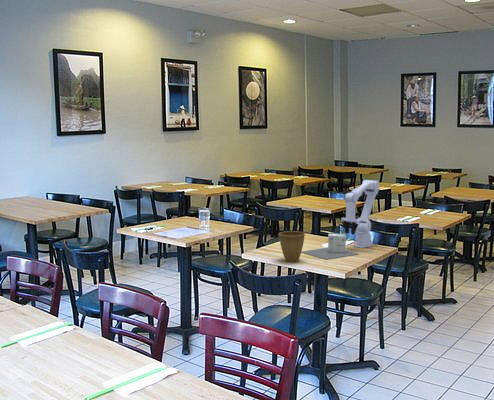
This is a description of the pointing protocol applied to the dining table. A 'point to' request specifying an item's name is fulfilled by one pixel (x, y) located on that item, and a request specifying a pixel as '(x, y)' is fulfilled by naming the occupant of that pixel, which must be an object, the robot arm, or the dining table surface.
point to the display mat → (327, 253)
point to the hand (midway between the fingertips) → (349, 233)
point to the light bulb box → (337, 243)
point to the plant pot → (291, 244)
